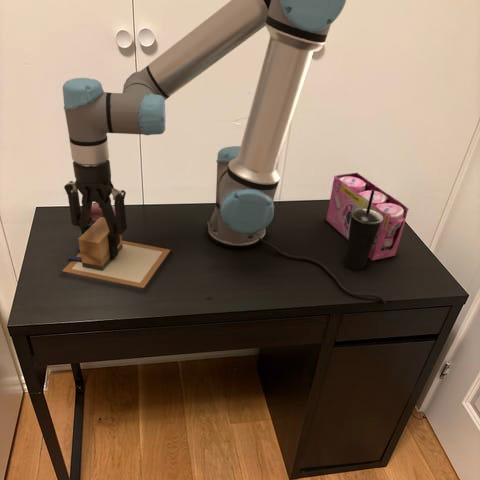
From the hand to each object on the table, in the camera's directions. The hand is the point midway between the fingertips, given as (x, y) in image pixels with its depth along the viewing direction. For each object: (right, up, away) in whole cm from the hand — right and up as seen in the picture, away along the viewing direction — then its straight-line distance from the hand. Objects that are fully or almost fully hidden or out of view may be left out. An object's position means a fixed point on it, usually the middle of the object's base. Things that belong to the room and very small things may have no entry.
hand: (103, 254), depth 121 cm
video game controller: (-4, +9, +14) cm, 18 cm away
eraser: (0, -1, 0) cm, 1 cm away
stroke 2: (-5, 0, +1) cm, 5 cm away
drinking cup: (+62, -2, +7) cm, 62 cm away
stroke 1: (-5, -2, -1) cm, 6 cm away
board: (+4, -2, +1) cm, 4 cm away
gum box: (+65, +7, +18) cm, 68 cm away
